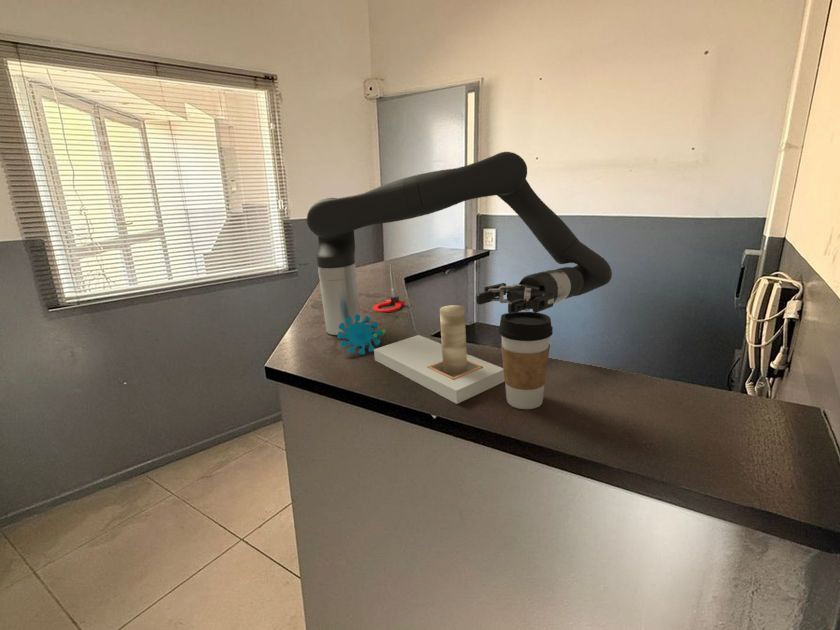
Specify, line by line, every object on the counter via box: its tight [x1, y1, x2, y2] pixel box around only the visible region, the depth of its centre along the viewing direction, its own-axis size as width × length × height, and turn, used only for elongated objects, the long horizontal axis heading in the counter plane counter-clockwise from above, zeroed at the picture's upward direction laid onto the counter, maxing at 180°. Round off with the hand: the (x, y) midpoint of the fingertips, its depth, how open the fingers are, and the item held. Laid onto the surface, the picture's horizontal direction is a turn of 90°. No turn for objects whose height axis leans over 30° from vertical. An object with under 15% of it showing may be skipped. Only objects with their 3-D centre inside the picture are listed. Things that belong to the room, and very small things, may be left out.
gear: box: [336, 314, 387, 356], centre depth 101 cm, size 11×6×10 cm
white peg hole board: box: [373, 334, 505, 405], centre depth 87 cm, size 26×12×3 cm, turn 38°
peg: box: [439, 304, 468, 377], centre depth 80 cm, size 4×4×14 cm
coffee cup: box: [498, 311, 554, 410], centre depth 71 cm, size 8×8×15 cm
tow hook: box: [372, 263, 406, 314], centre depth 128 cm, size 8×13×9 cm
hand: (493, 303), depth 86 cm, fingers open, 8 cm apart
